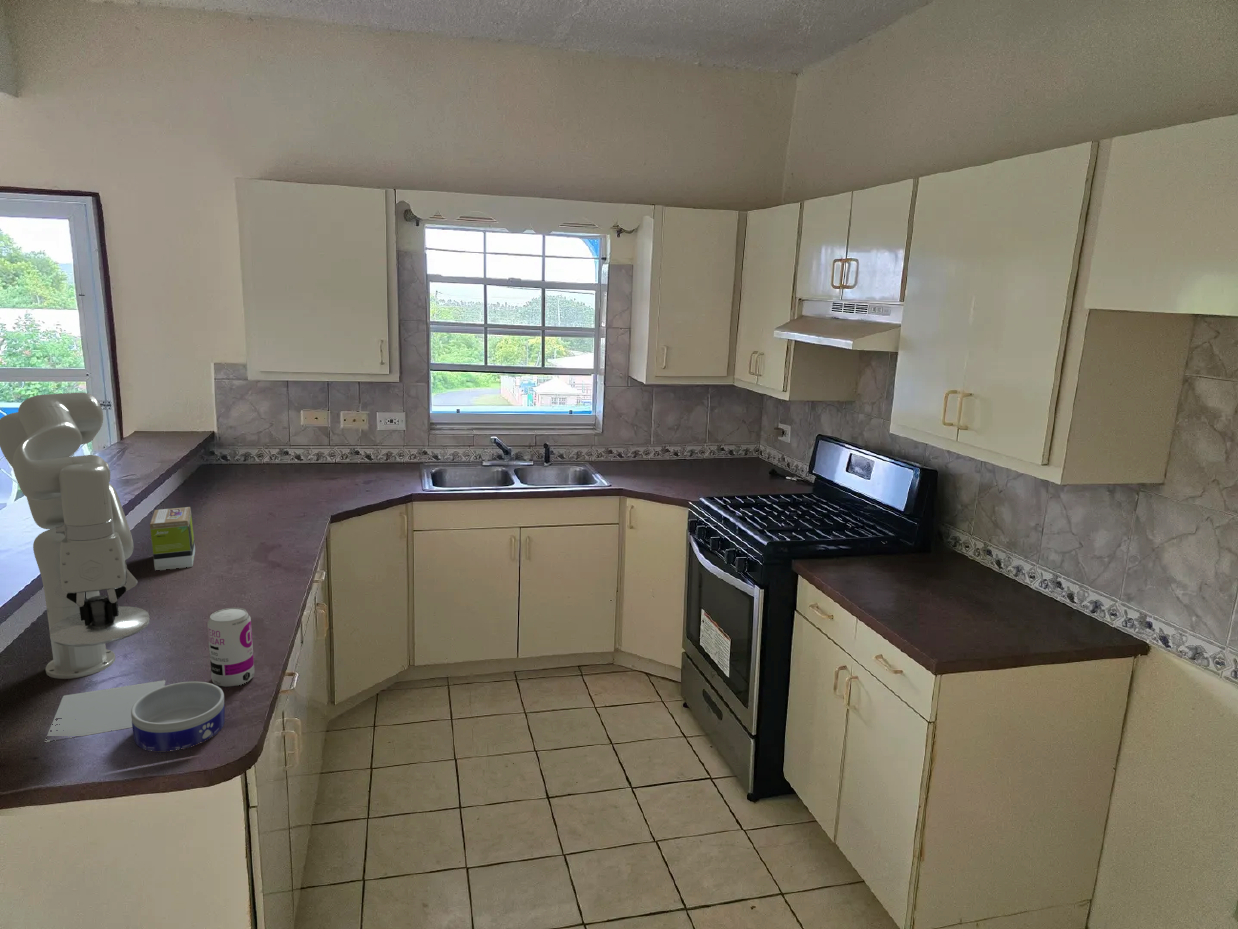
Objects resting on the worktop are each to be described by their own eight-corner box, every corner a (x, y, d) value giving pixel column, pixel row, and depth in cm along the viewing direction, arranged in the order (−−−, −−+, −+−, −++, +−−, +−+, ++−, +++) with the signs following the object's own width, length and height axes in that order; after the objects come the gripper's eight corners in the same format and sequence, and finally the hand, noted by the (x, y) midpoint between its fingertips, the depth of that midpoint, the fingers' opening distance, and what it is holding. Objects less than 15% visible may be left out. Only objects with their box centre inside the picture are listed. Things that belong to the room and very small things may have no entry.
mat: (63, 697, 160) (63, 695, 160) (165, 681, 168) (165, 680, 167) (44, 744, 144) (44, 742, 144) (158, 724, 152) (157, 722, 152)
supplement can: (260, 670, 174) (256, 607, 170) (244, 689, 166) (239, 623, 162) (223, 670, 173) (218, 606, 170) (205, 689, 165) (199, 622, 162)
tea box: (158, 555, 241) (154, 508, 238) (196, 551, 245) (192, 505, 242) (153, 571, 228) (149, 522, 225) (193, 567, 232) (189, 519, 229)
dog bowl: (186, 760, 141) (184, 730, 140) (112, 745, 144) (110, 715, 143) (242, 716, 156) (241, 688, 154) (174, 703, 158) (172, 675, 157)
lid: (59, 617, 155) (55, 589, 154) (153, 606, 162) (150, 579, 161) (41, 652, 141) (37, 621, 140) (145, 638, 148) (142, 608, 147)
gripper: (31, 540, 141) (44, 636, 145) (138, 531, 148) (148, 623, 152) (41, 528, 147) (53, 620, 151) (143, 520, 154) (152, 608, 158)
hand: (100, 620), depth 151 cm, fingers closed on lid, 3 cm apart
